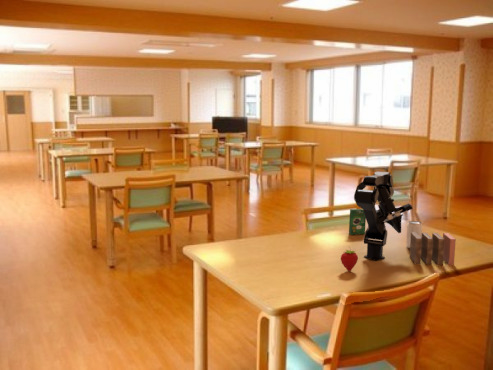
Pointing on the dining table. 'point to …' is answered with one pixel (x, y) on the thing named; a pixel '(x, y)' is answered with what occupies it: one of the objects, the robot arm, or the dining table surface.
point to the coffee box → (357, 222)
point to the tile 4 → (449, 248)
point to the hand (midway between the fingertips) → (399, 232)
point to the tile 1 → (415, 248)
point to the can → (413, 230)
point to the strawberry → (349, 259)
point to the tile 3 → (438, 248)
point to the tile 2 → (426, 248)
